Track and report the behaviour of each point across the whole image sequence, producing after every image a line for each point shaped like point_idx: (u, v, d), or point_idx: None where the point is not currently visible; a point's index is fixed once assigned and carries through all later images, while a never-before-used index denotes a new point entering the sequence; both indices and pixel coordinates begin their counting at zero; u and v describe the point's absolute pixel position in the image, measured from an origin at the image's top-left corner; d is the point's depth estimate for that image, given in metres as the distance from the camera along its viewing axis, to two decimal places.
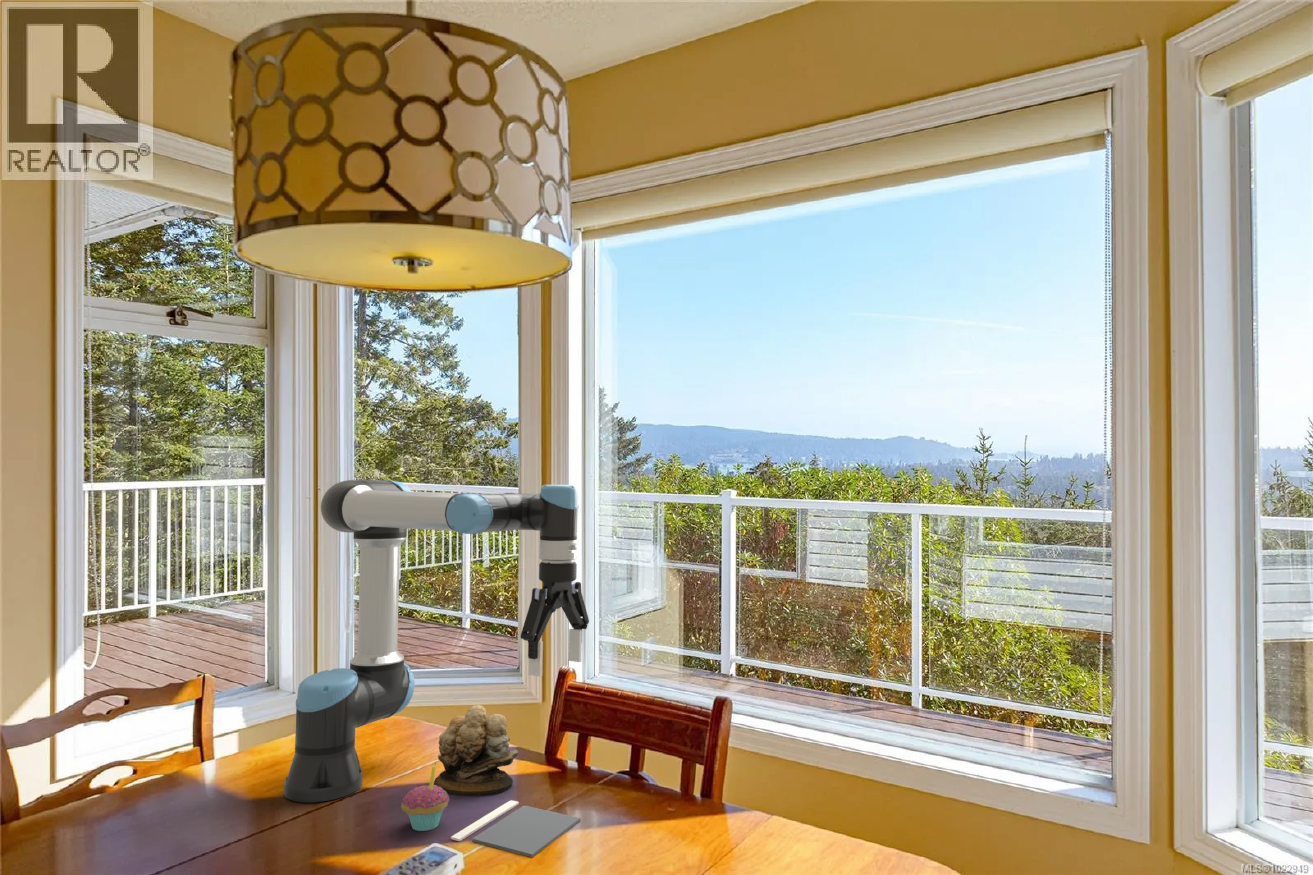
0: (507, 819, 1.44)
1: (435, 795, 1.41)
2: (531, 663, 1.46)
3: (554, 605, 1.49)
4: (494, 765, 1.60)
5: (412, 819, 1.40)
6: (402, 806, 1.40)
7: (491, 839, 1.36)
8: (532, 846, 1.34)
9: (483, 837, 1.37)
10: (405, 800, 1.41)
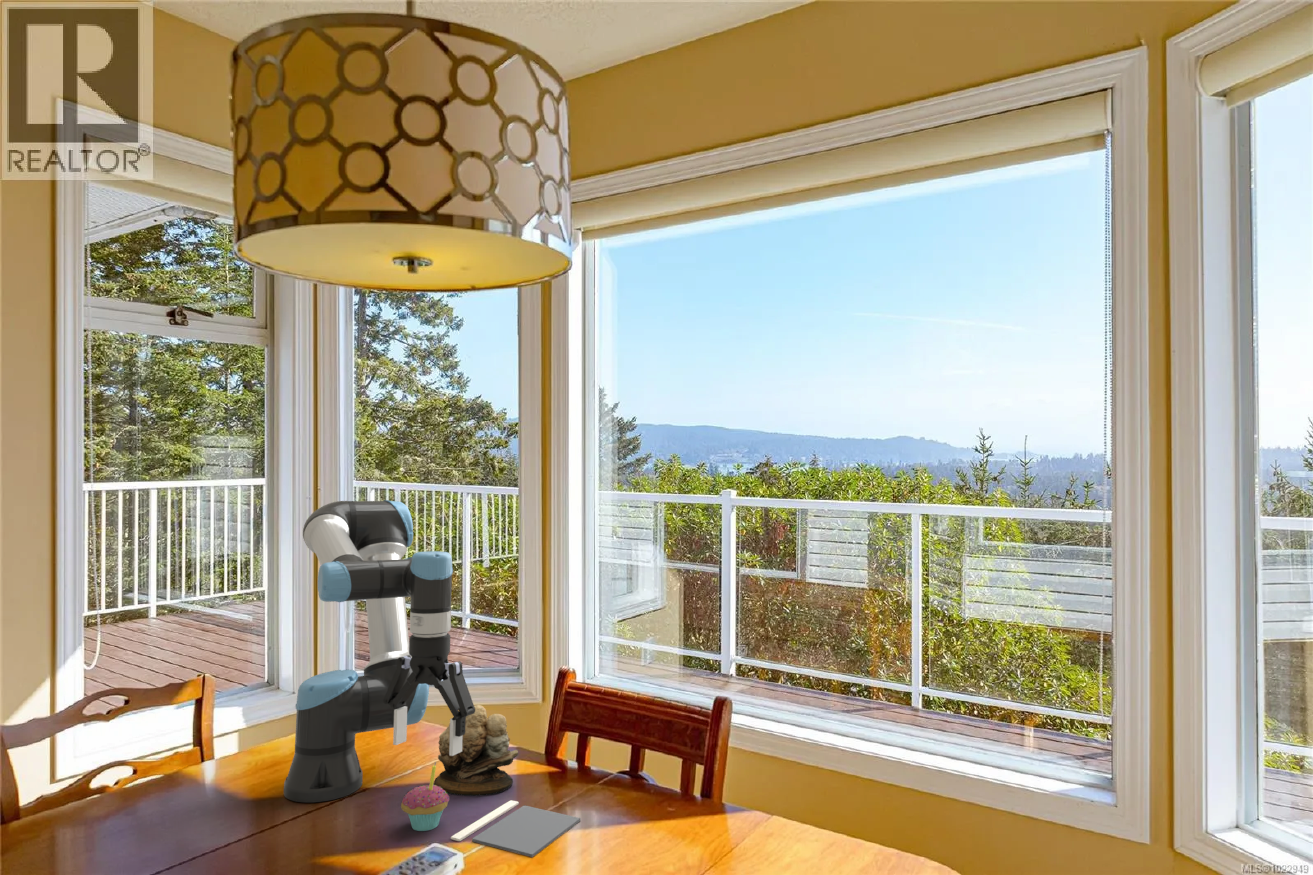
0: (507, 819, 1.44)
1: (435, 795, 1.41)
2: None
3: (409, 678, 1.44)
4: (494, 765, 1.60)
5: (412, 819, 1.40)
6: (402, 806, 1.40)
7: (491, 839, 1.36)
8: (532, 846, 1.34)
9: (483, 837, 1.37)
10: (405, 800, 1.41)
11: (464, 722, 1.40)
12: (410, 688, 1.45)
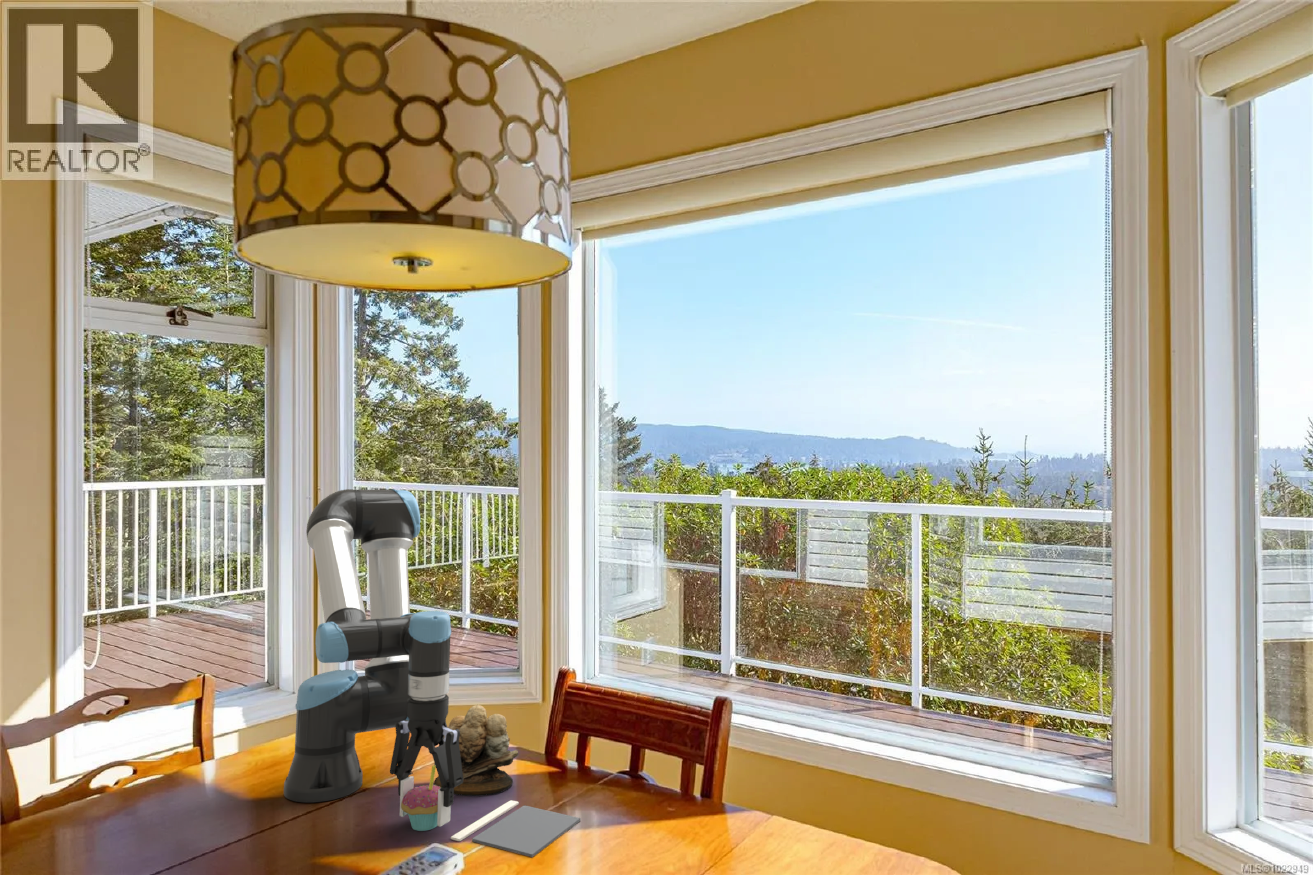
0: (507, 819, 1.44)
1: (435, 794, 1.41)
2: None
3: (409, 743, 1.43)
4: (494, 765, 1.60)
5: (412, 819, 1.40)
6: (402, 806, 1.40)
7: (491, 839, 1.36)
8: (532, 846, 1.34)
9: (483, 837, 1.37)
10: (405, 800, 1.41)
11: (452, 792, 1.41)
12: (413, 754, 1.44)
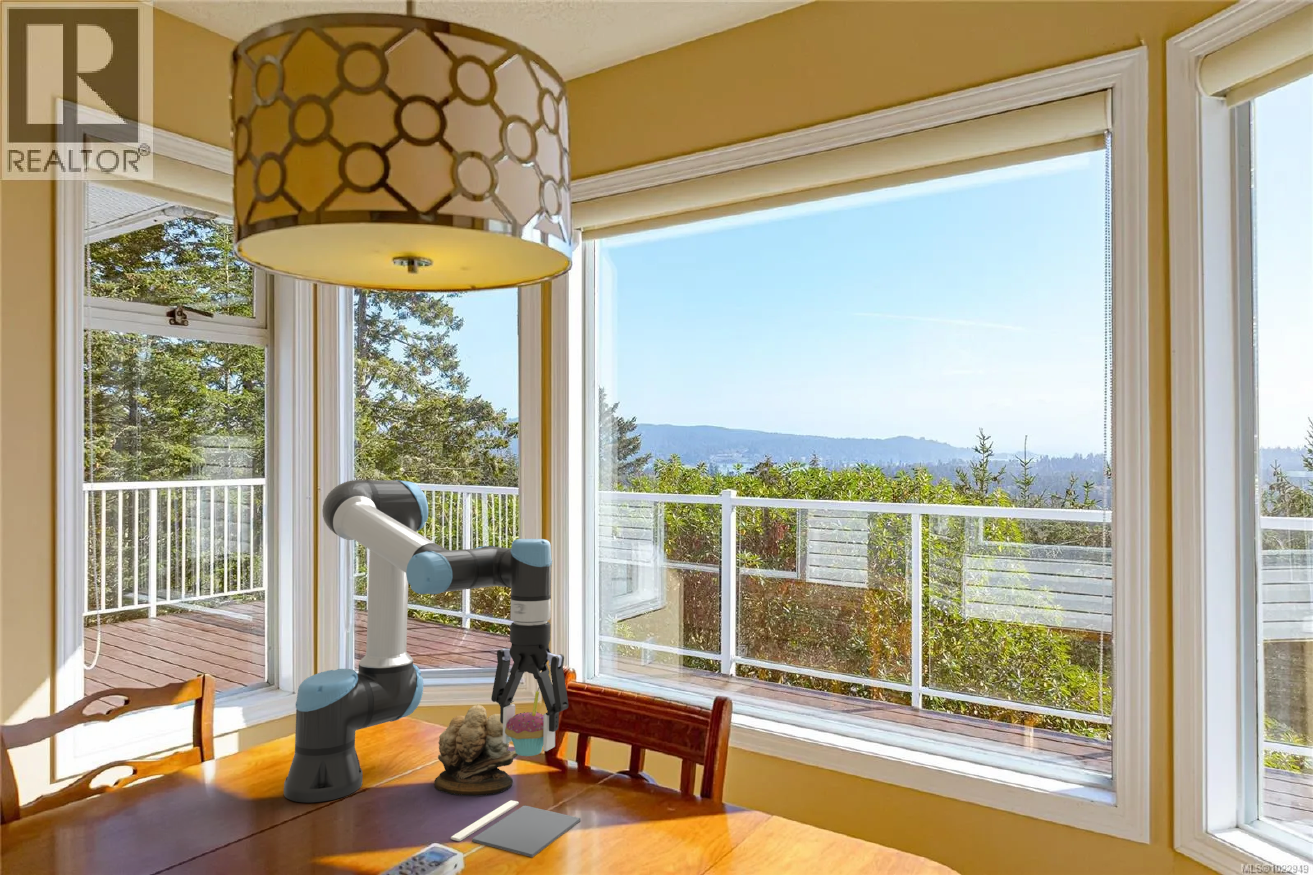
0: (507, 819, 1.44)
1: (539, 720, 1.40)
2: None
3: (512, 669, 1.42)
4: (494, 765, 1.60)
5: (517, 744, 1.39)
6: (507, 731, 1.39)
7: (491, 839, 1.36)
8: (532, 846, 1.34)
9: (483, 837, 1.37)
10: (509, 725, 1.40)
11: (557, 717, 1.40)
12: (515, 680, 1.43)
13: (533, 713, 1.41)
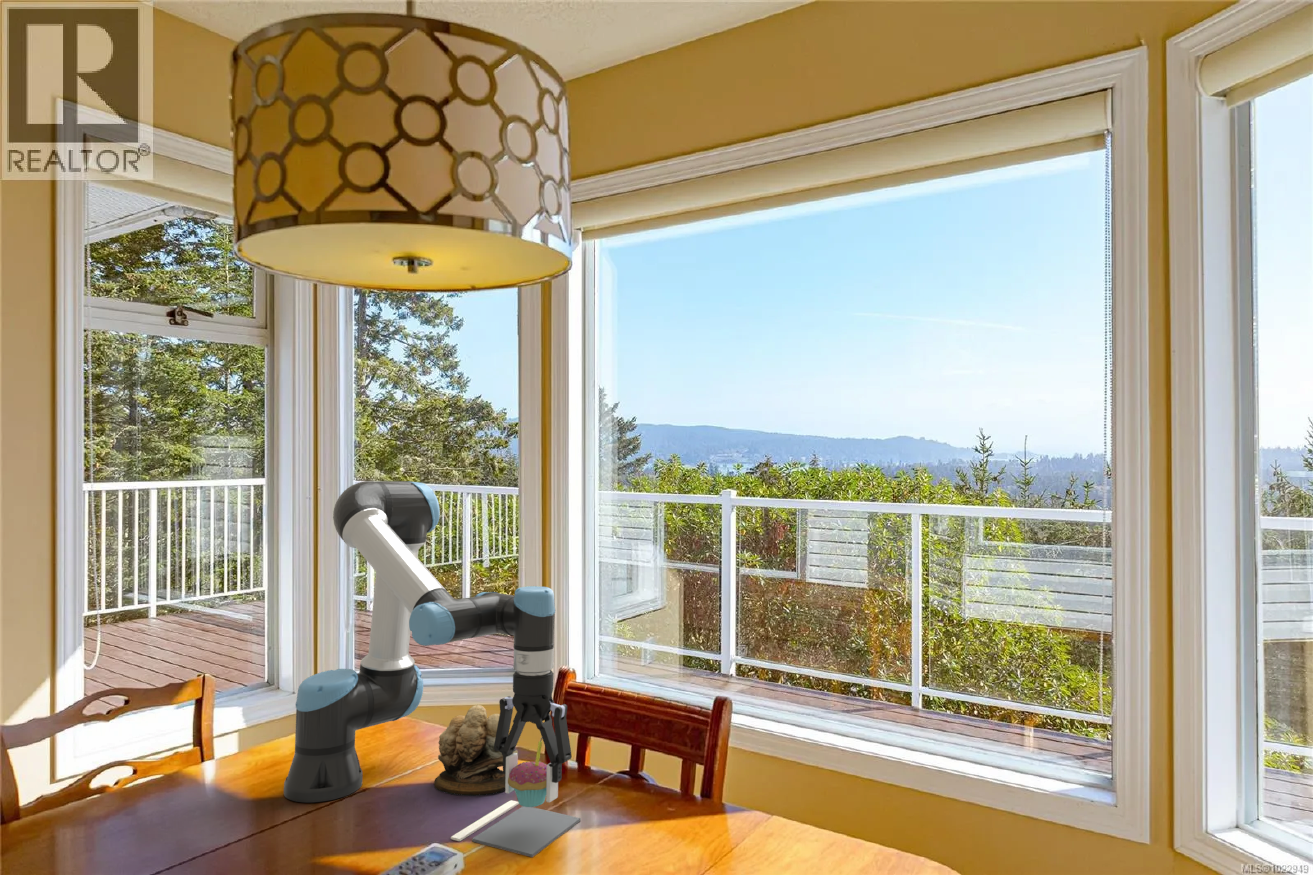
0: (507, 819, 1.44)
1: (542, 770, 1.40)
2: None
3: (515, 719, 1.42)
4: (494, 765, 1.60)
5: (520, 795, 1.39)
6: (510, 782, 1.39)
7: (491, 839, 1.36)
8: (532, 846, 1.34)
9: (483, 837, 1.37)
10: (512, 776, 1.39)
11: (560, 768, 1.39)
12: (518, 730, 1.43)
13: (536, 763, 1.41)
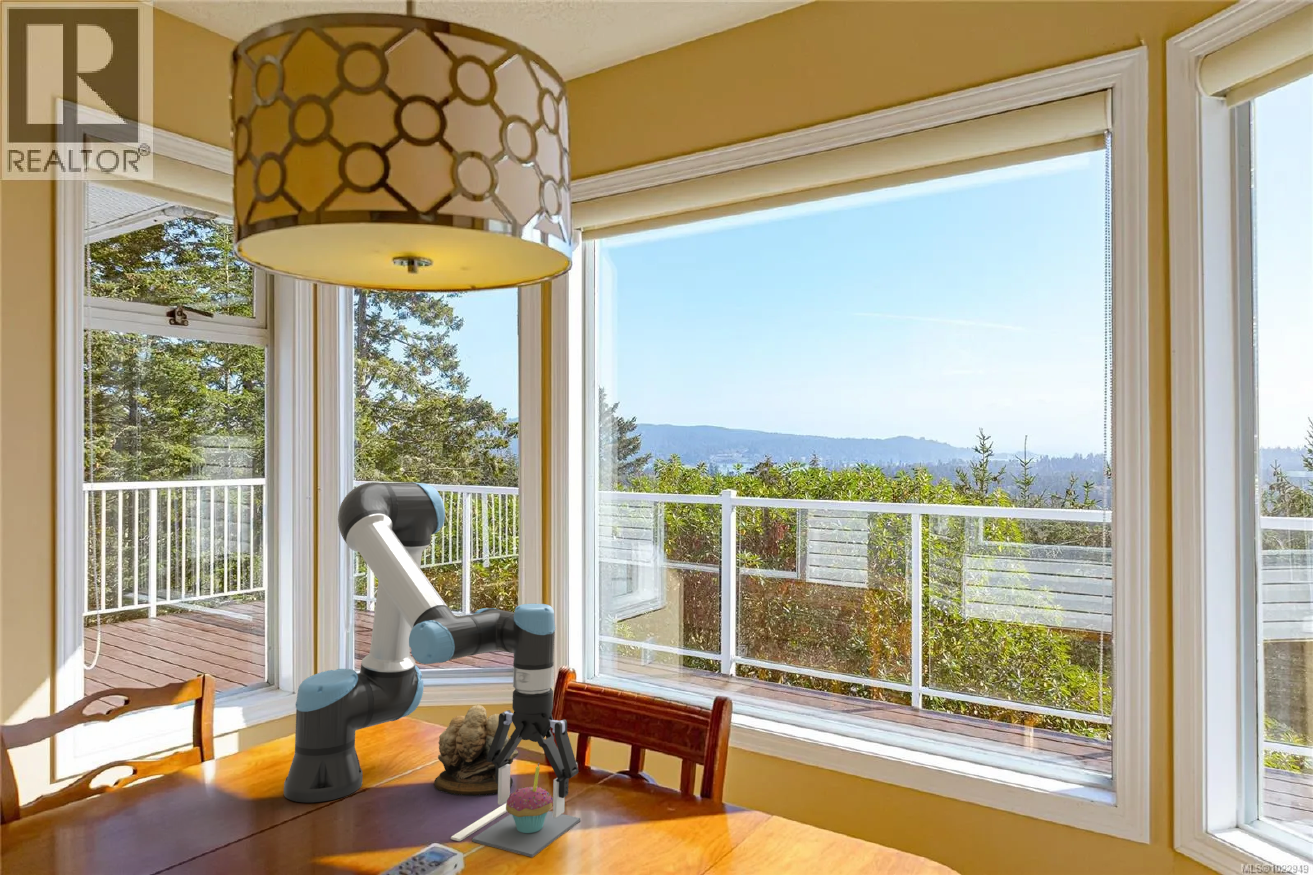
0: (507, 819, 1.44)
1: (540, 796, 1.40)
2: None
3: (513, 734, 1.42)
4: (494, 765, 1.60)
5: (518, 821, 1.39)
6: (508, 808, 1.39)
7: (491, 839, 1.36)
8: (532, 846, 1.34)
9: (483, 837, 1.37)
10: (510, 802, 1.39)
11: (567, 783, 1.39)
12: (514, 745, 1.43)
13: (534, 789, 1.41)
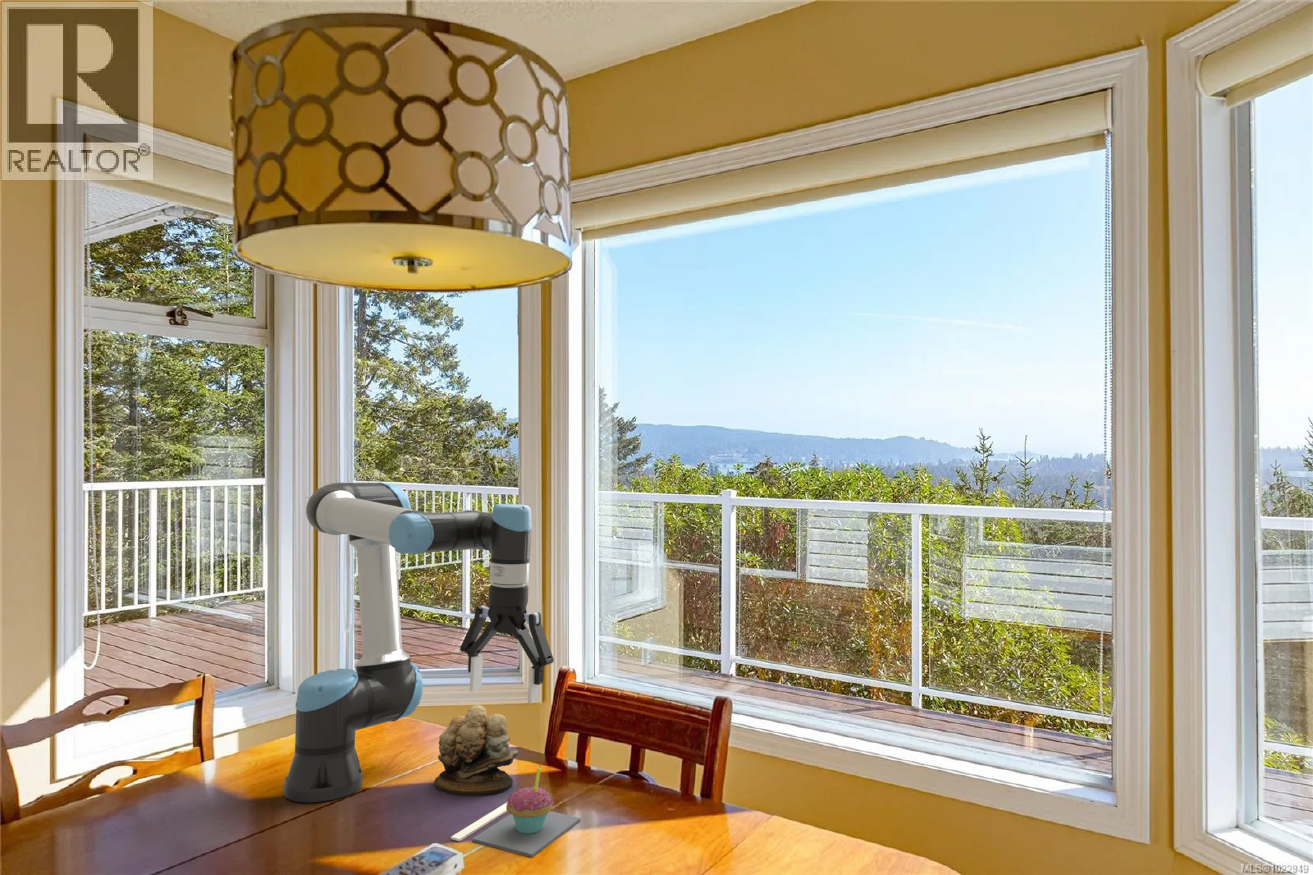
0: (507, 819, 1.44)
1: (541, 797, 1.40)
2: None
3: (487, 627, 1.47)
4: (494, 765, 1.60)
5: (518, 821, 1.39)
6: (508, 808, 1.39)
7: (491, 839, 1.36)
8: (532, 846, 1.34)
9: (483, 837, 1.37)
10: (511, 802, 1.39)
11: (542, 671, 1.43)
12: (487, 637, 1.48)
13: (535, 789, 1.41)
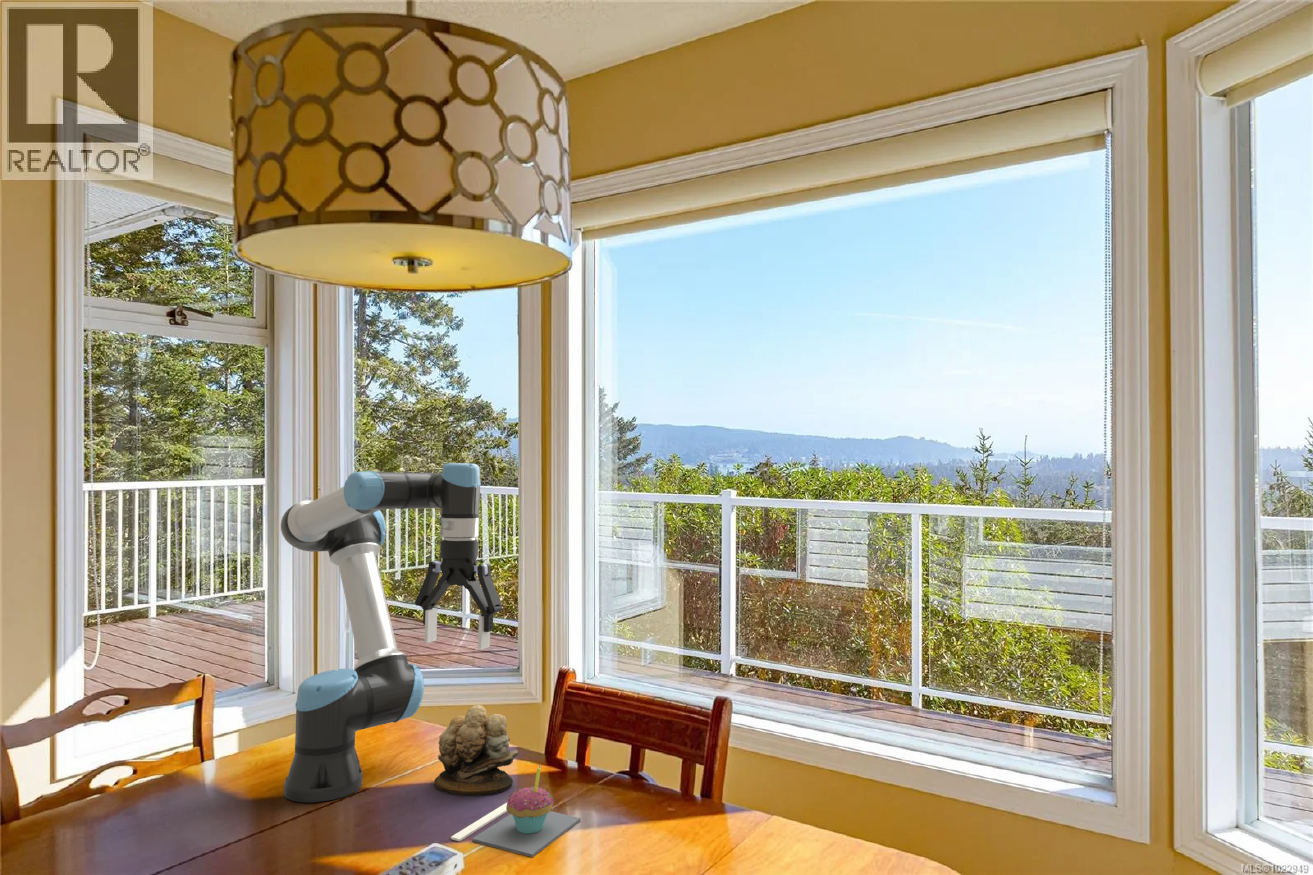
0: (507, 819, 1.44)
1: (541, 797, 1.40)
2: None
3: (440, 580, 1.54)
4: (494, 765, 1.60)
5: (518, 821, 1.39)
6: (508, 808, 1.39)
7: (491, 839, 1.36)
8: (532, 846, 1.34)
9: (483, 837, 1.37)
10: (511, 802, 1.39)
11: (492, 619, 1.50)
12: (440, 590, 1.55)
13: (535, 789, 1.41)
